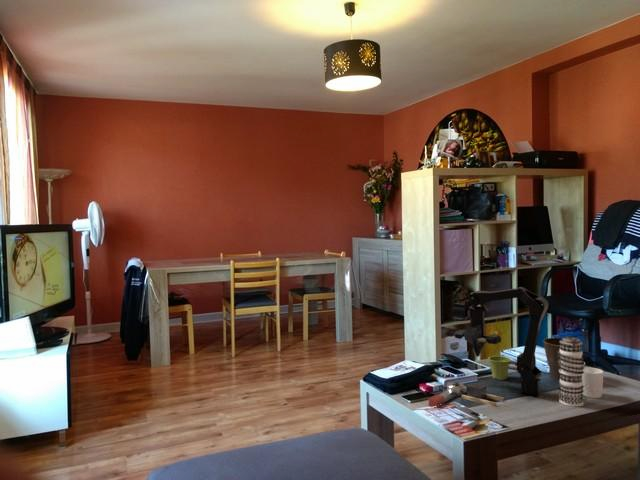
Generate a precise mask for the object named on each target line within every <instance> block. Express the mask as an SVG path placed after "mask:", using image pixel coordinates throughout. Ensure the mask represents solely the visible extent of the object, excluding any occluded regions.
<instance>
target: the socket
mask: <svg viewBox="0 0 640 480" xmlns="http://www.w3.org/2000/svg"><path fill="white" fill-rule="evenodd" d="M465 387H466V391H467V392H466V396H470V397H475V398H479V399H483V400H487V398H486V394H487V385H484V384H479V383H474V382H471V383H469V384H467V385H466V386H465Z"/></svg>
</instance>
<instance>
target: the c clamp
mask: <svg viewBox="0 0 640 480" xmlns="http://www.w3.org/2000/svg"><path fill="white" fill-rule="evenodd" d="M516 363H517V360H516V361H515V360H511V361H510V363H509V367H508V370H509V369H510V370H516V371H517V366H514V365H516Z"/></svg>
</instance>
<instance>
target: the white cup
mask: <svg viewBox="0 0 640 480" xmlns="http://www.w3.org/2000/svg"><path fill="white" fill-rule="evenodd" d="M582 371H583V372H584V373H583V375H582V381H583V386H584V388H583V391H584V392H583V395H584V397H586V398H587V397H588V398H592V399H599V398H602V396H603V388H604V371H603V370H602V369H600V368H596V367H584V369H583V370H582Z"/></svg>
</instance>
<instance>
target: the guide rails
mask: <svg viewBox="0 0 640 480" xmlns="http://www.w3.org/2000/svg"><path fill="white" fill-rule="evenodd" d="M460 397H461V399H462V400H467V401H471V402H475V403H479V404H483V405H487V406H491V407H497V402H494V401H490V400H487V399H491V400H495V401H499V402H504V400H505V397H502V396H498V395H494V394H489V393H486V399H484V400H483V399H479V398H475V397H470V396H467V394H464V395H461V396H460Z"/></svg>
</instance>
